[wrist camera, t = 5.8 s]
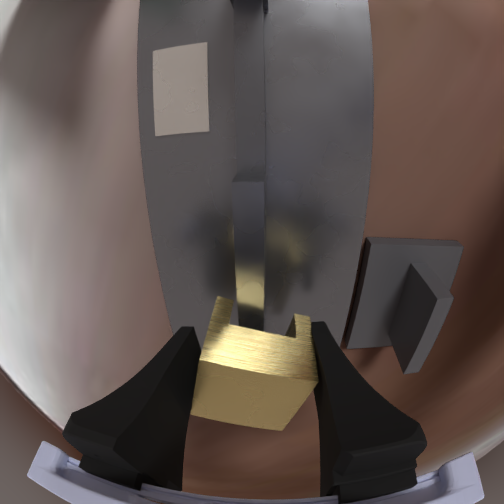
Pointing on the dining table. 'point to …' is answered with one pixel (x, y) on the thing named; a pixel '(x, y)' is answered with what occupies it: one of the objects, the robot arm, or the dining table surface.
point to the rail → (256, 156)
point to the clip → (253, 372)
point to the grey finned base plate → (403, 296)
